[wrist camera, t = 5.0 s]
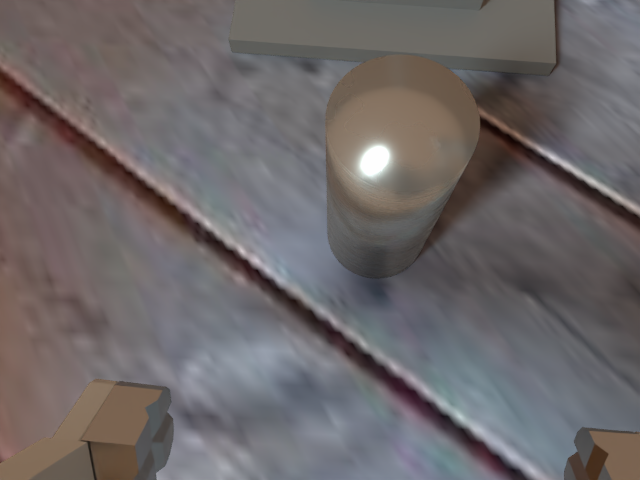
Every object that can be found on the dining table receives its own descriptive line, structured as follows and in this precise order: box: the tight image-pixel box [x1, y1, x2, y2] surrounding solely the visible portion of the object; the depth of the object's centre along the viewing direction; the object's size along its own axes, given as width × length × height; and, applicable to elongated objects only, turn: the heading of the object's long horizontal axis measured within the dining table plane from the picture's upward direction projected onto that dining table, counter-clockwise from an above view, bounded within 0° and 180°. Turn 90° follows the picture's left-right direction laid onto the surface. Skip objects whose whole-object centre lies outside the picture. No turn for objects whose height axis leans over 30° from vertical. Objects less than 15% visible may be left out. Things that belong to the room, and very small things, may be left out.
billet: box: [325, 54, 480, 279], centre depth 21 cm, size 4×4×10 cm
